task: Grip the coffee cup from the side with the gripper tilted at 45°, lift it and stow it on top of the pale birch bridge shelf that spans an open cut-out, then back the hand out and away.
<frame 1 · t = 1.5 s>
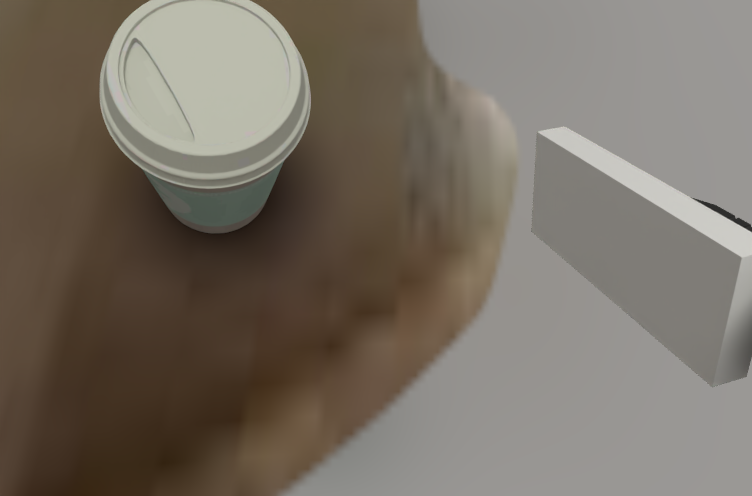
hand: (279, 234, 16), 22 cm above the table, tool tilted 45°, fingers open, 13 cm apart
coffee cup: (216, 185, 39), on the table
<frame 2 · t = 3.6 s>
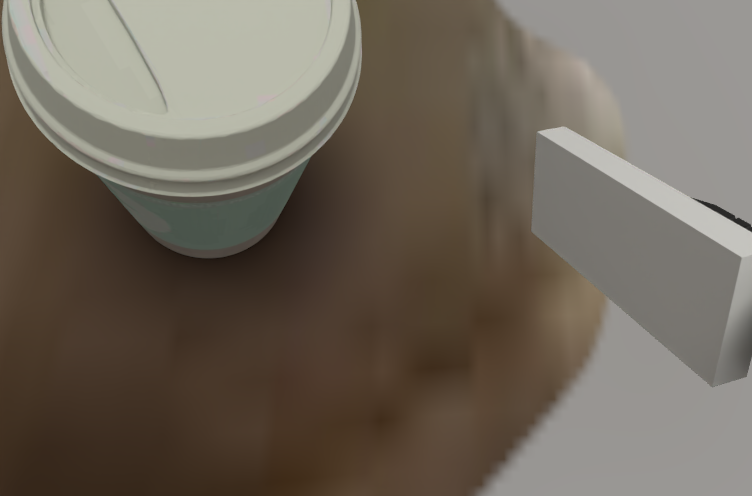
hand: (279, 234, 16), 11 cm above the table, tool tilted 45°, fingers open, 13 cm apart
coffee cup: (209, 188, 27), on the table
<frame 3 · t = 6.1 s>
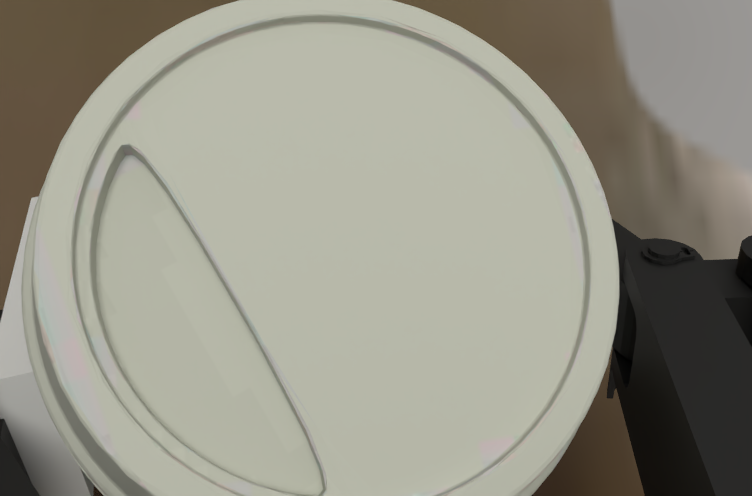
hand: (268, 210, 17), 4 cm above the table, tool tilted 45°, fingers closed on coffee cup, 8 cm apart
coffee cup: (288, 367, 20), on the table, touching gripper
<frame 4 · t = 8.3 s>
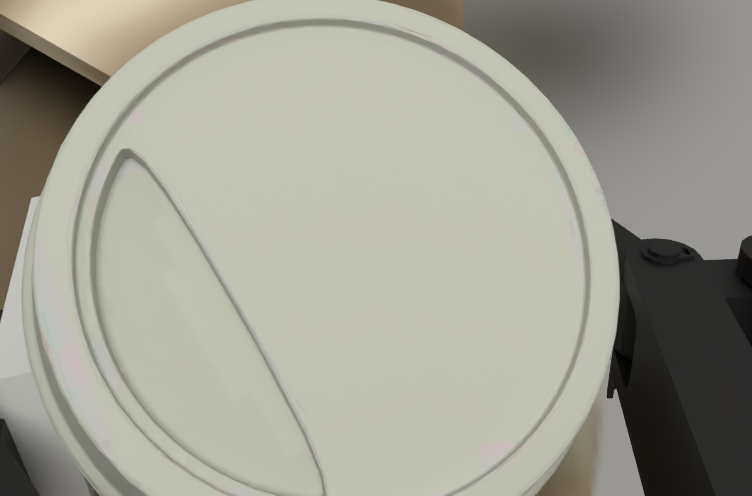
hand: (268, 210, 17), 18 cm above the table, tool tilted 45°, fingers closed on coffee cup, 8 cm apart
bridge shelf: (155, 13, 38), on the table
coffee cup: (288, 369, 20), point 14 cm above the table, touching gripper
when the fingers open (15 cm above the table, at t = 11.0 s): coffee cup drops 1 cm, resting on bridge shelf.
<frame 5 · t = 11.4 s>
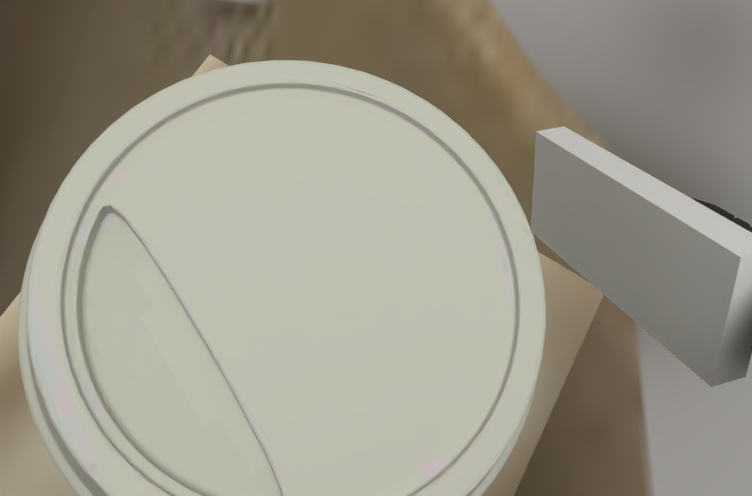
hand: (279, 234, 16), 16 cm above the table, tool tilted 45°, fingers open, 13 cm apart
bridge shelf: (273, 400, 30), on the table
coffee cup: (271, 381, 21), point 9 cm above the table, touching bridge shelf
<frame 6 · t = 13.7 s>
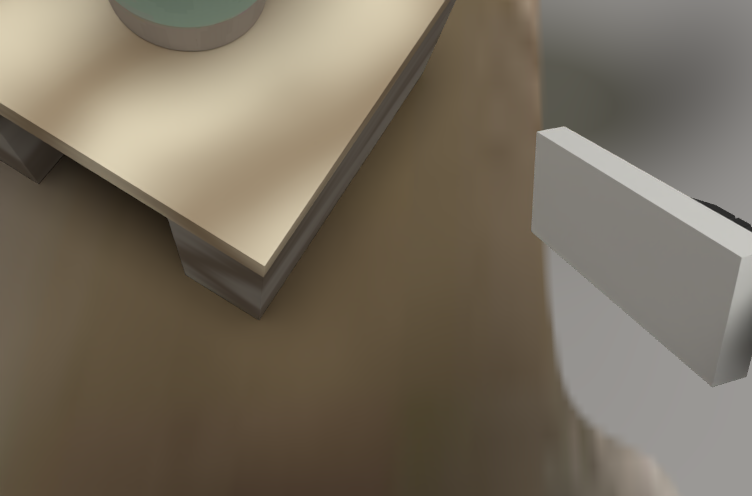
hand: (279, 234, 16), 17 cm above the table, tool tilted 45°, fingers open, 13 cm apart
bridge shelf: (211, 103, 35), on the table
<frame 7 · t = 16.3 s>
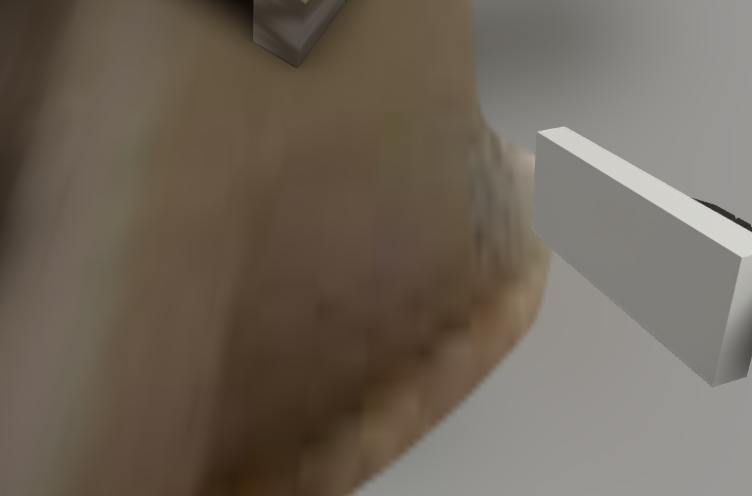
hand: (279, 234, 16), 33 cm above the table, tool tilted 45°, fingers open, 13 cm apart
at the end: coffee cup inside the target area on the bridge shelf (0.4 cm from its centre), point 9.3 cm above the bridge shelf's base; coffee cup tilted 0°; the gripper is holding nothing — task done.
